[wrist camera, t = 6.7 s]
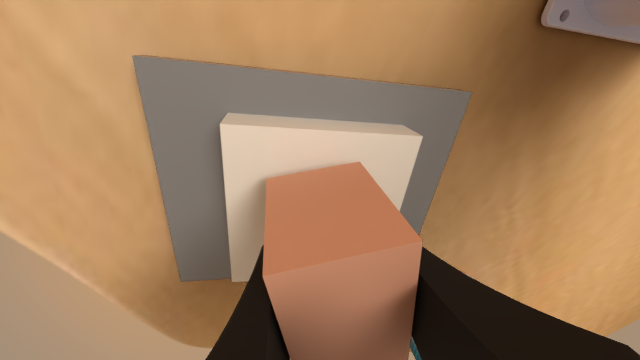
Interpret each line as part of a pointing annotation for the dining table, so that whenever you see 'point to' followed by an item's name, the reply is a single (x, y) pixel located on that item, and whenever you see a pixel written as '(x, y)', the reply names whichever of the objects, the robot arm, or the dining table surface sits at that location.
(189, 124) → the tower base
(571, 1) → the robot arm
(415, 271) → the brick
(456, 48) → the dining table surface
